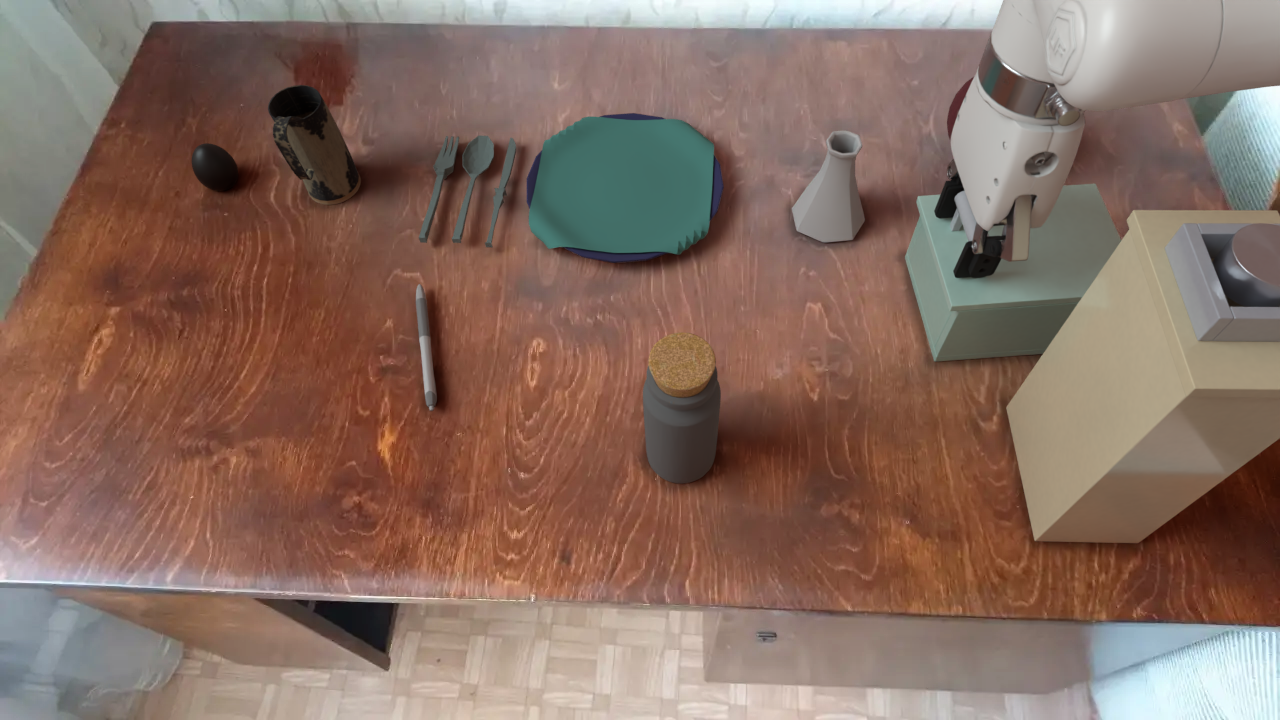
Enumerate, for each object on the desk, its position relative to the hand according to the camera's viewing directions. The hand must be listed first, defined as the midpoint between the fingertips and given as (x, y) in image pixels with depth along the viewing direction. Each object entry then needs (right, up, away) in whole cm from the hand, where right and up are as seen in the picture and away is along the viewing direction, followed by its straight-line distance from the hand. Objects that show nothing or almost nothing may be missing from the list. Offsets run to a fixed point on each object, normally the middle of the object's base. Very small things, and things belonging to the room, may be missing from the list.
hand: (962, 242), depth 72 cm
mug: (-59, +8, +18) cm, 62 cm away
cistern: (+8, -19, -1) cm, 21 cm away
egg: (-71, +9, +19) cm, 74 cm away
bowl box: (+6, -4, +8) cm, 11 cm away
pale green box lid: (+6, 0, +1) cm, 6 cm away
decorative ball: (+9, +11, +18) cm, 23 cm away
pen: (-46, -9, +8) cm, 48 cm away
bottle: (-23, -18, +1) cm, 29 cm away
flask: (-8, +4, +14) cm, 17 cm away
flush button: (+7, -5, -24) cm, 25 cm away
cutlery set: (-33, +7, +17) cm, 38 cm away
